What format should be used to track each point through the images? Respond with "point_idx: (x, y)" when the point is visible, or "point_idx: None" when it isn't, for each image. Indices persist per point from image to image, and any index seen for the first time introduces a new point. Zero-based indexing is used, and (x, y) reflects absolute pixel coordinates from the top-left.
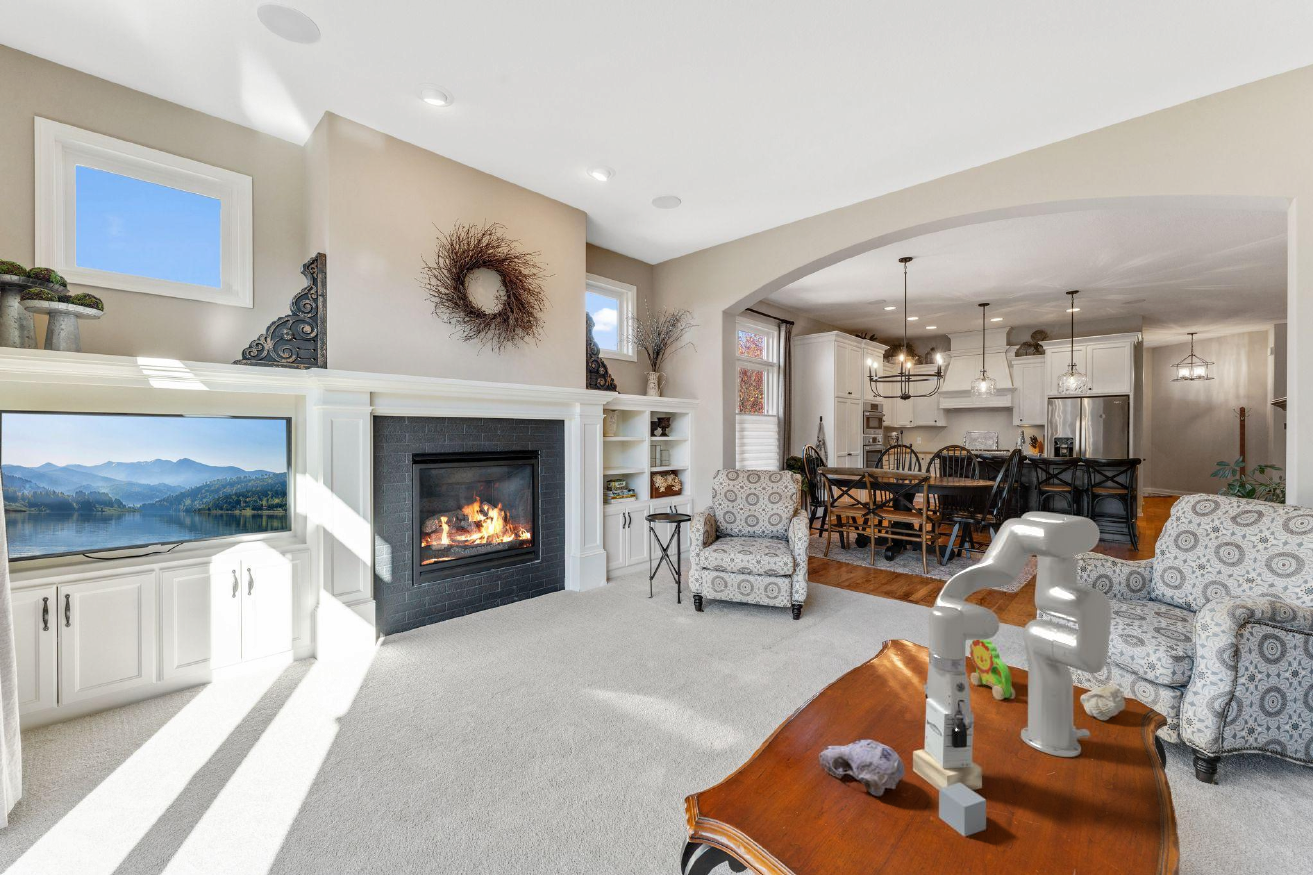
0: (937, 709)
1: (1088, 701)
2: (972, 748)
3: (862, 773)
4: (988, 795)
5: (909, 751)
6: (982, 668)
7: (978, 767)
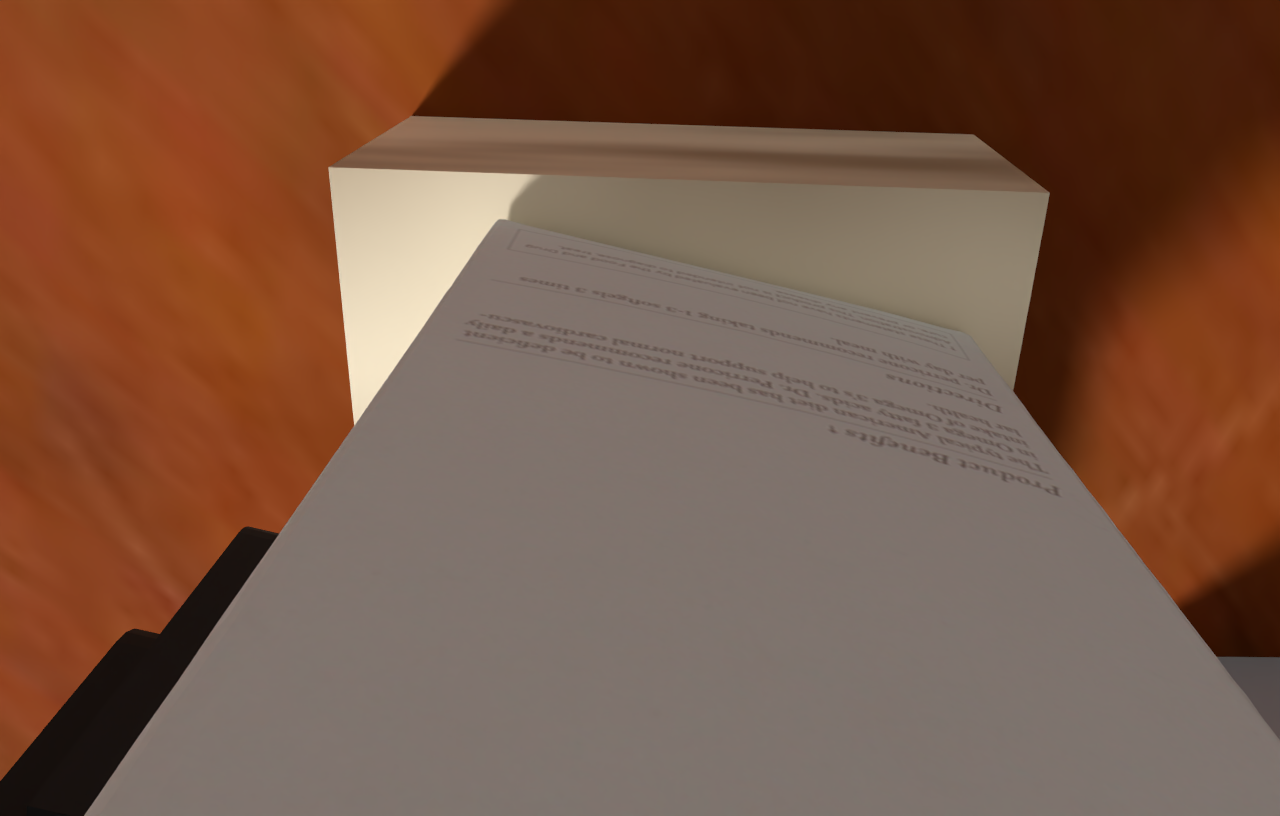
0: None
1: None
2: (1073, 471)
3: None
4: (1109, 194)
5: (109, 359)
6: None
7: (1018, 237)
